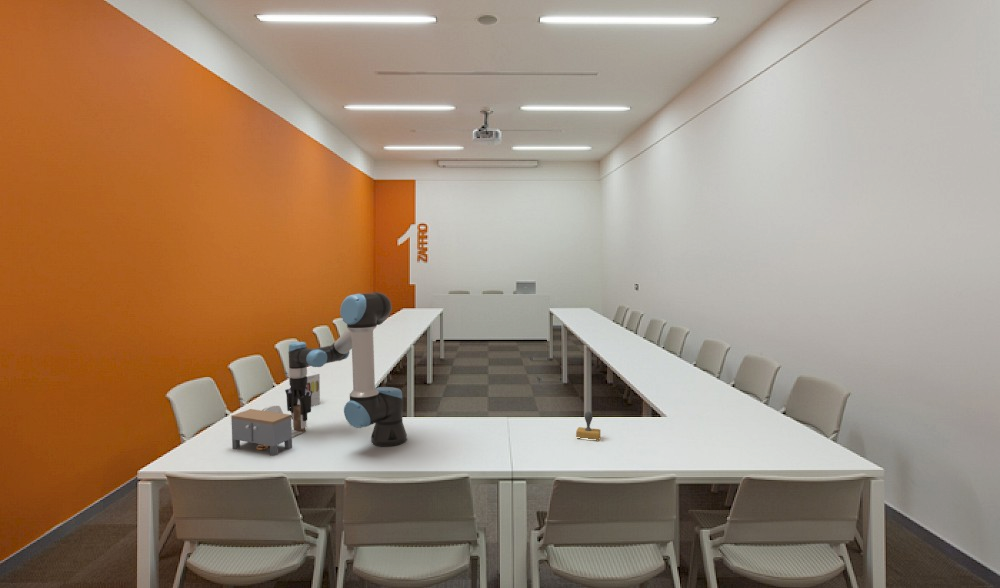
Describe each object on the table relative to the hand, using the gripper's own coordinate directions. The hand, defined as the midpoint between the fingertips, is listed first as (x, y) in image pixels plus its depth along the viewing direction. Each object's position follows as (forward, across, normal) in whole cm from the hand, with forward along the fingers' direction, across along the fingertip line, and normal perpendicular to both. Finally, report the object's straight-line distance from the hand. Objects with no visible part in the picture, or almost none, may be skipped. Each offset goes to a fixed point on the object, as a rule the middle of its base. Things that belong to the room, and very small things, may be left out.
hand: (299, 426), depth 239 cm
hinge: (+3, +18, -1) cm, 19 cm away
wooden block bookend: (+2, 0, +9) cm, 9 cm away
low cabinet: (+2, 0, +22) cm, 22 cm away
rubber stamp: (+3, -124, -41) cm, 130 cm away
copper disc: (+2, 0, +22) cm, 22 cm away
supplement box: (+2, +26, -35) cm, 44 cm away
